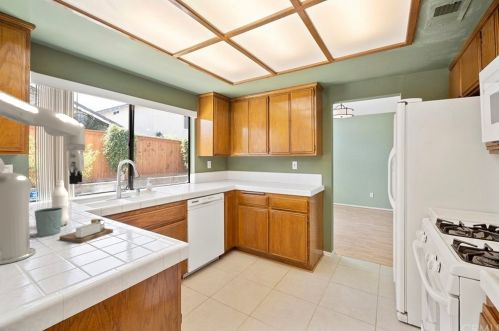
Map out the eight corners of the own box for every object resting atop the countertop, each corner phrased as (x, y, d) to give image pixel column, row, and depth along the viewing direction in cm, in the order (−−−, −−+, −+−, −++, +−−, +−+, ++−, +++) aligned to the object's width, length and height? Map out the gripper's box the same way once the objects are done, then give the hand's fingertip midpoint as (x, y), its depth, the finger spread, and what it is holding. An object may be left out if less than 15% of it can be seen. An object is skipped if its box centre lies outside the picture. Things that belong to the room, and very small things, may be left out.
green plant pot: (29, 236, 107) (28, 211, 106) (53, 229, 117) (52, 206, 116) (46, 238, 104) (45, 212, 104) (68, 231, 114) (67, 207, 114)
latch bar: (101, 228, 111) (100, 218, 111) (106, 229, 110) (106, 218, 110) (75, 236, 100) (75, 225, 100) (81, 237, 99) (81, 225, 99)
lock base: (81, 243, 98) (80, 229, 97) (59, 239, 102) (59, 226, 102) (113, 232, 112) (112, 220, 112) (92, 229, 117) (92, 218, 116)
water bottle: (59, 227, 120) (58, 181, 119) (48, 227, 121) (47, 180, 120) (72, 223, 127) (71, 179, 126) (62, 223, 128) (61, 179, 128)
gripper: (81, 147, 104) (81, 184, 104) (88, 149, 120) (88, 181, 120) (60, 147, 101) (61, 185, 101) (70, 149, 116) (70, 182, 116)
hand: (76, 183), depth 110 cm, fingers open, 9 cm apart
